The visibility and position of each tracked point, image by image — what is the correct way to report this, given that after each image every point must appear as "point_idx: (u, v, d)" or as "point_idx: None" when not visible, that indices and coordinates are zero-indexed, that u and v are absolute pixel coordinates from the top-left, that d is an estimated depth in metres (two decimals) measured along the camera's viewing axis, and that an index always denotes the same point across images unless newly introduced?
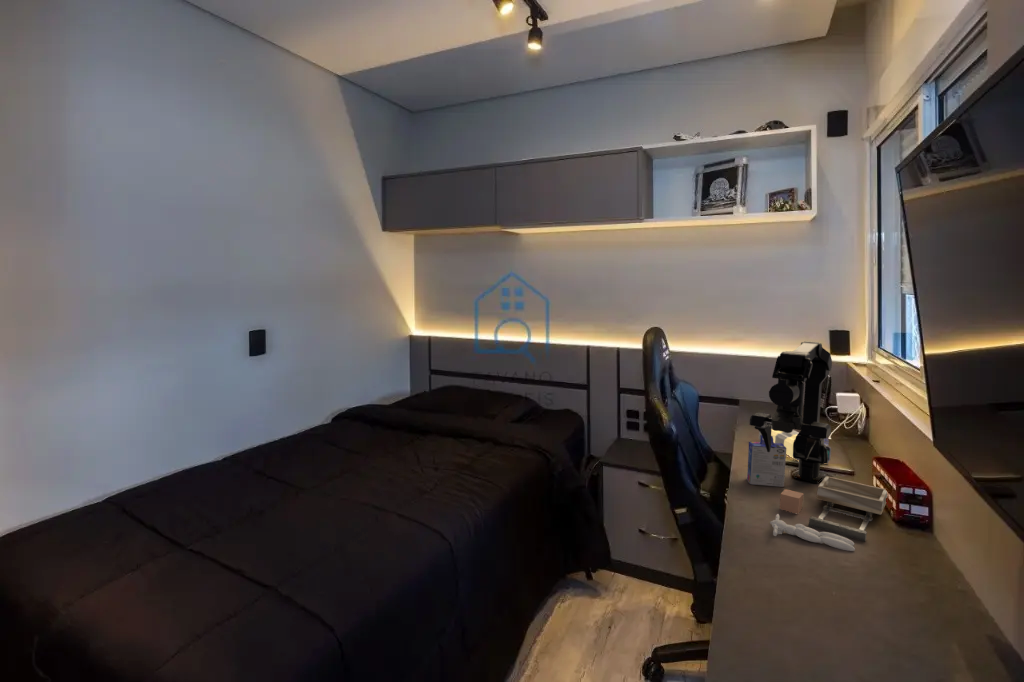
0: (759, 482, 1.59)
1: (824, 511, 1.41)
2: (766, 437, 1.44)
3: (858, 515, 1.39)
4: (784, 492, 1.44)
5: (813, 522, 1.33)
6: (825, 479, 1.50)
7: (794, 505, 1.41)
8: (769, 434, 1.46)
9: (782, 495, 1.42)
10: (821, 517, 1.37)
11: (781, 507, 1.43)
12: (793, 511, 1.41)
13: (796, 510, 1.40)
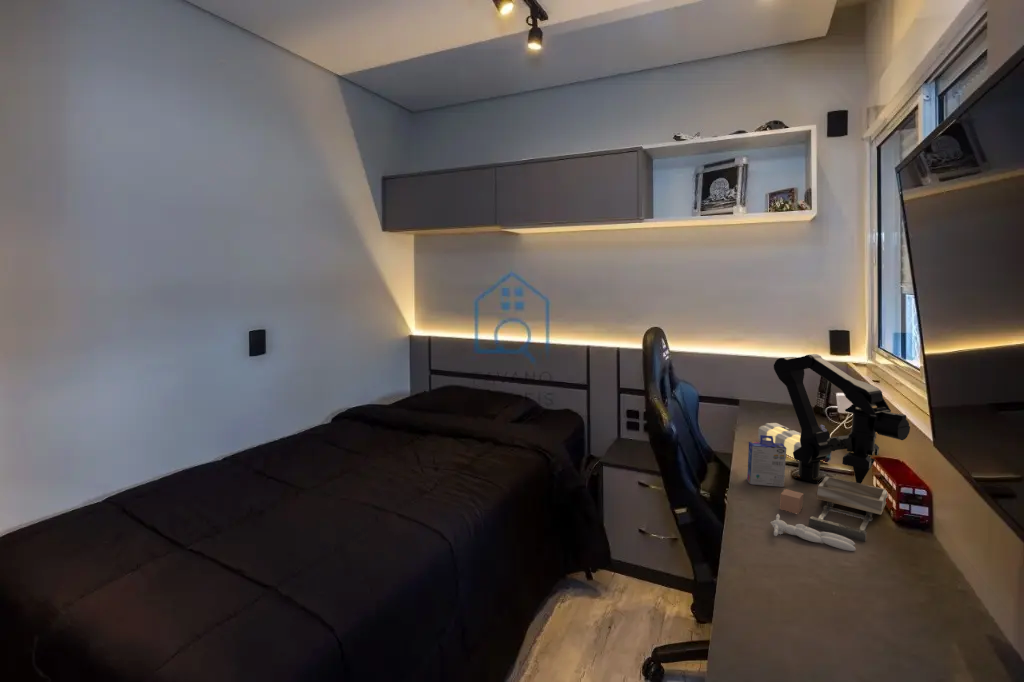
0: (759, 482, 1.59)
1: (824, 511, 1.41)
2: None
3: (858, 515, 1.39)
4: (784, 492, 1.44)
5: (813, 522, 1.33)
6: (825, 479, 1.50)
7: (794, 505, 1.41)
8: None
9: (782, 495, 1.42)
10: (821, 517, 1.37)
11: (781, 507, 1.43)
12: (793, 511, 1.41)
13: (796, 510, 1.40)
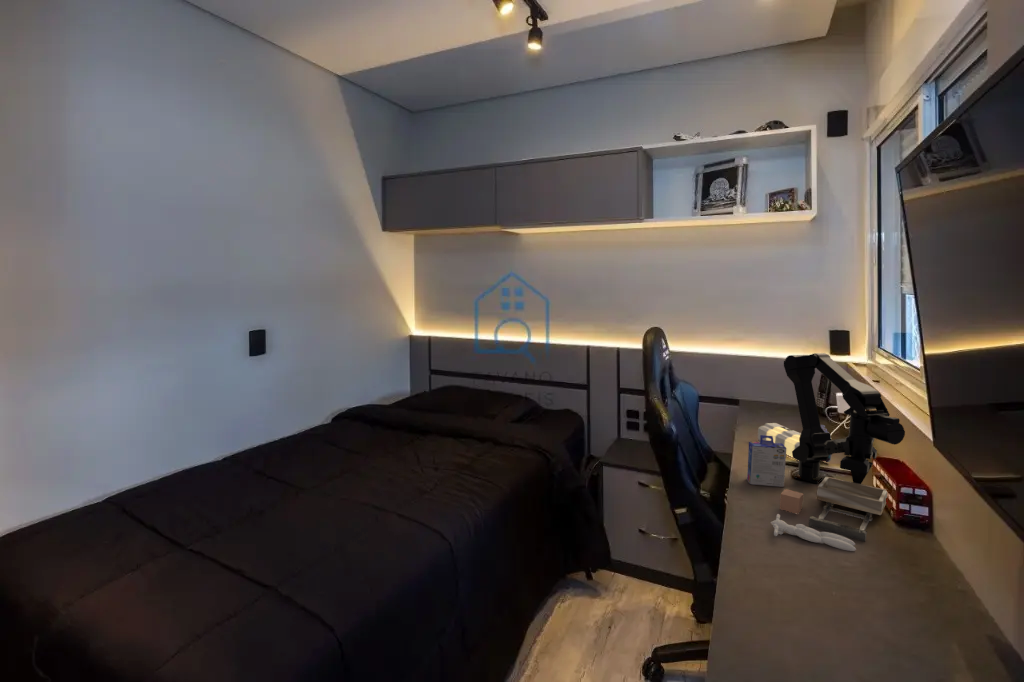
0: (759, 482, 1.59)
1: (824, 511, 1.41)
2: None
3: (858, 515, 1.39)
4: (784, 492, 1.44)
5: (813, 522, 1.33)
6: (825, 479, 1.49)
7: (794, 505, 1.41)
8: None
9: (782, 495, 1.42)
10: (821, 517, 1.37)
11: (781, 507, 1.43)
12: (793, 511, 1.41)
13: (796, 510, 1.40)
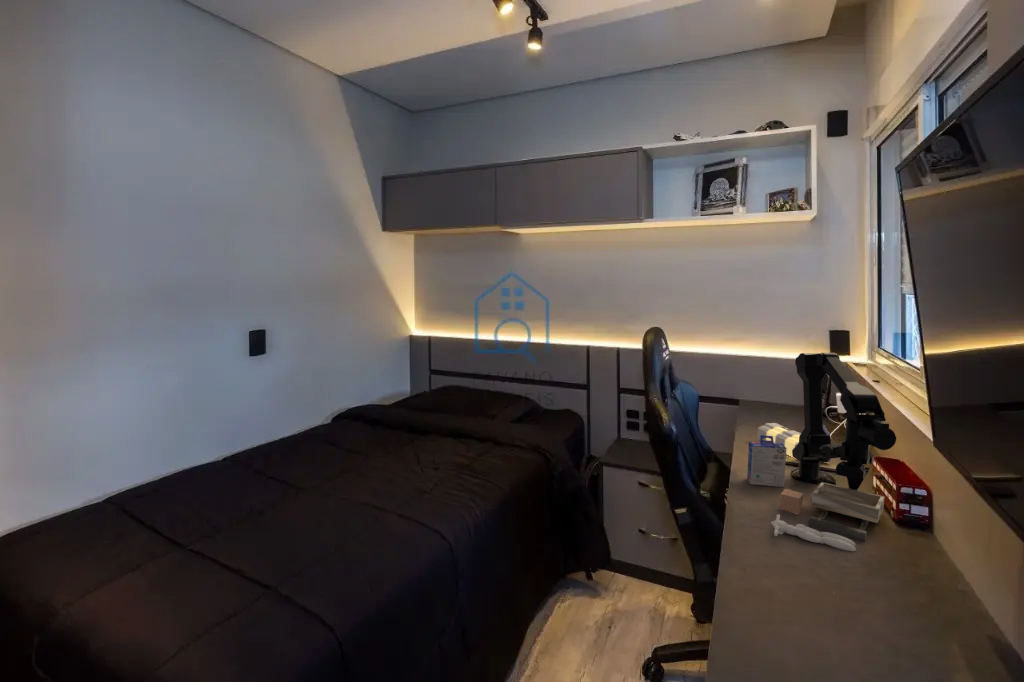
0: (759, 482, 1.59)
1: None
2: None
3: None
4: (784, 492, 1.44)
5: (813, 522, 1.33)
6: (820, 485, 1.45)
7: (794, 505, 1.41)
8: None
9: (782, 495, 1.42)
10: (821, 517, 1.37)
11: (781, 507, 1.43)
12: (793, 511, 1.41)
13: (796, 510, 1.40)
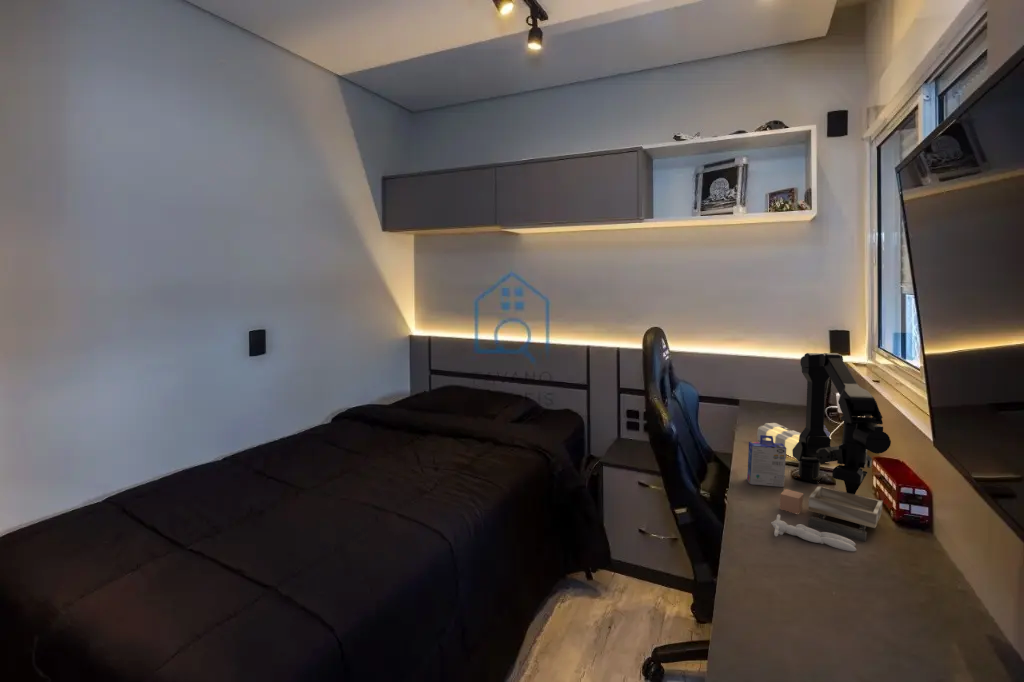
0: (759, 482, 1.59)
1: None
2: None
3: None
4: (784, 492, 1.44)
5: (813, 522, 1.33)
6: (817, 489, 1.42)
7: (794, 505, 1.41)
8: None
9: (782, 495, 1.42)
10: None
11: (781, 507, 1.43)
12: (793, 511, 1.41)
13: (796, 510, 1.40)
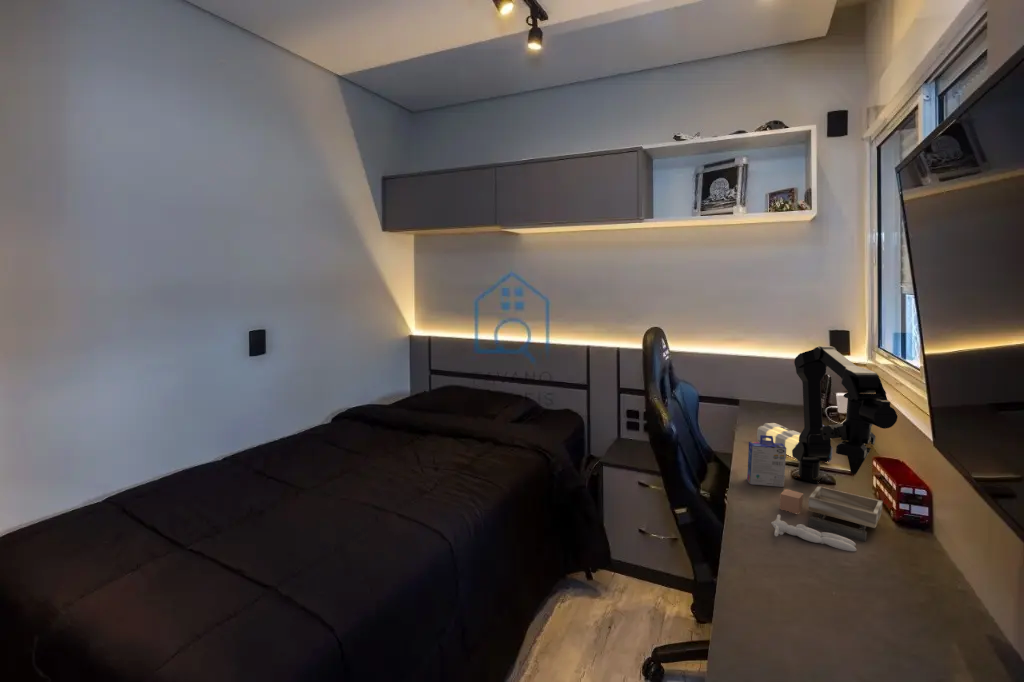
0: (759, 482, 1.59)
1: None
2: None
3: None
4: (784, 492, 1.44)
5: (813, 522, 1.33)
6: (817, 489, 1.42)
7: (794, 505, 1.41)
8: None
9: (782, 495, 1.42)
10: None
11: (781, 507, 1.43)
12: (793, 511, 1.41)
13: (796, 510, 1.40)
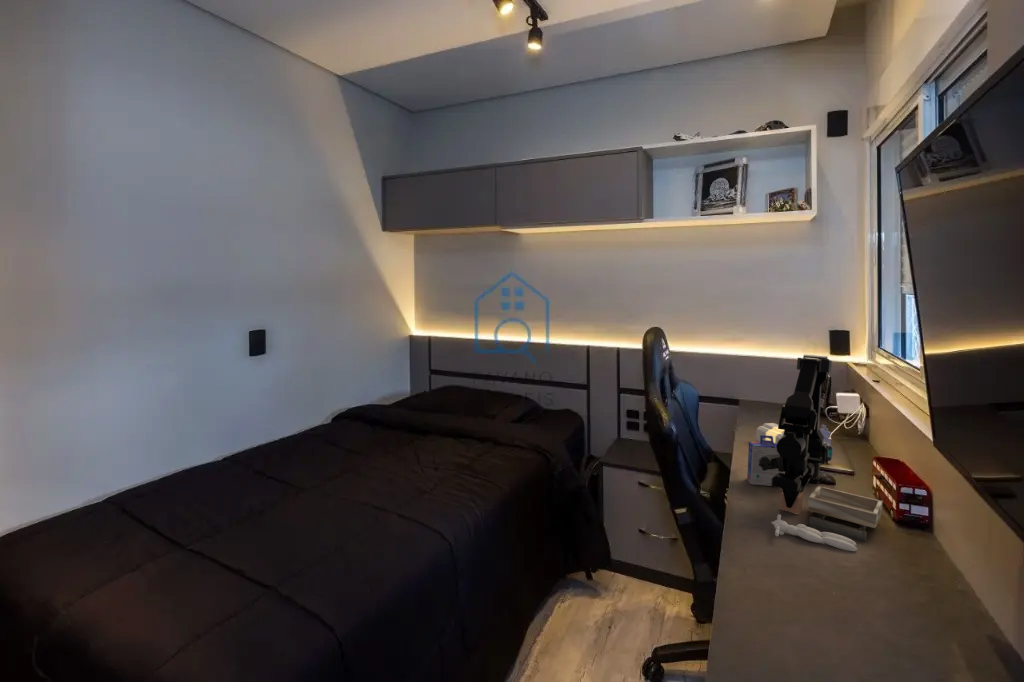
0: (759, 482, 1.59)
1: None
2: None
3: None
4: None
5: (813, 522, 1.33)
6: (817, 489, 1.42)
7: (794, 505, 1.41)
8: None
9: (782, 495, 1.42)
10: None
11: (781, 507, 1.43)
12: (793, 511, 1.41)
13: (796, 510, 1.40)
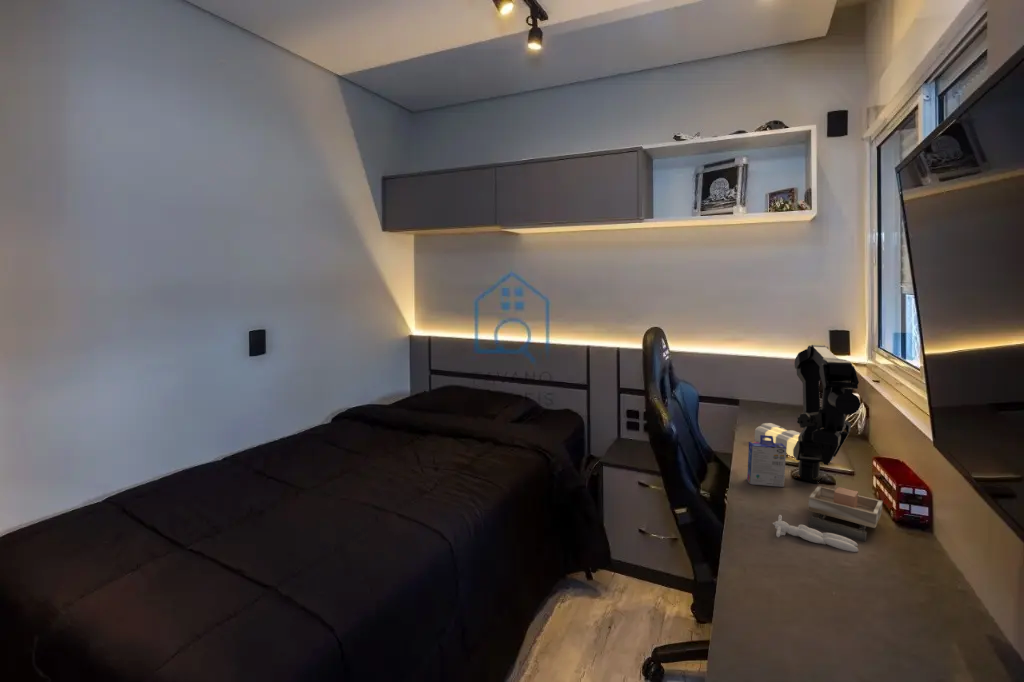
0: (759, 482, 1.59)
1: None
2: None
3: None
4: (837, 490, 1.37)
5: (813, 522, 1.33)
6: (817, 489, 1.42)
7: (849, 504, 1.34)
8: None
9: (836, 493, 1.36)
10: None
11: None
12: None
13: None
